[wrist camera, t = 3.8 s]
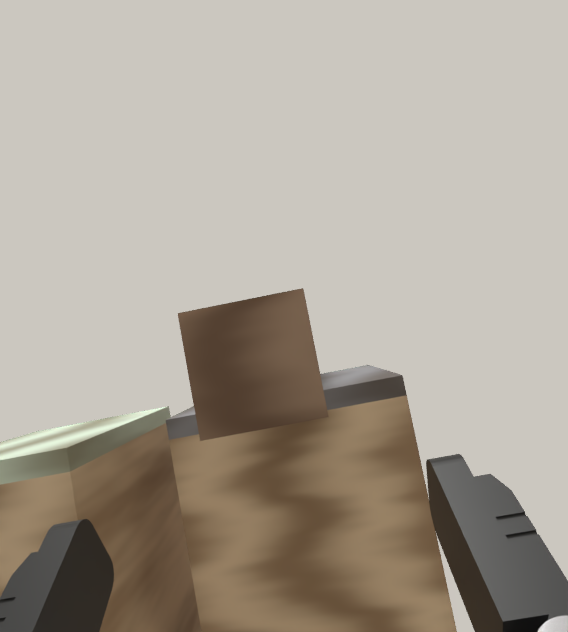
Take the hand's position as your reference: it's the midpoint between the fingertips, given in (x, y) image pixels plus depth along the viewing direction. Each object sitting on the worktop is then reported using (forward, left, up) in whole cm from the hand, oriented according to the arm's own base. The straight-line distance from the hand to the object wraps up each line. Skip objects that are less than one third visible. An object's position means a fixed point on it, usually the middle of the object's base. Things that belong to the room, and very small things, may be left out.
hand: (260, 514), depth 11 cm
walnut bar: (0, +15, +1) cm, 15 cm away
